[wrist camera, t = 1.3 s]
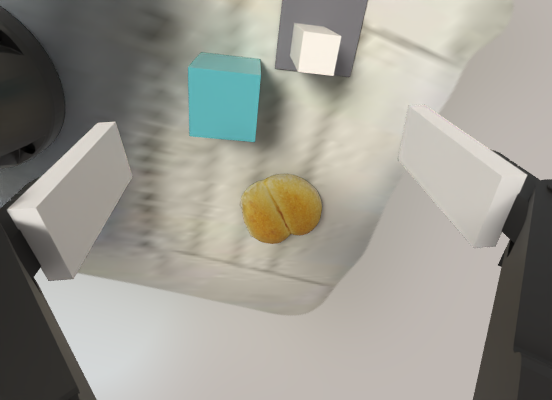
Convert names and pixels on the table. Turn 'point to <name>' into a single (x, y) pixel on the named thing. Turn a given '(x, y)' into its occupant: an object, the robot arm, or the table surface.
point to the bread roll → (280, 208)
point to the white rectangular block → (314, 49)
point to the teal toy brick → (223, 96)
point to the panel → (328, 13)
